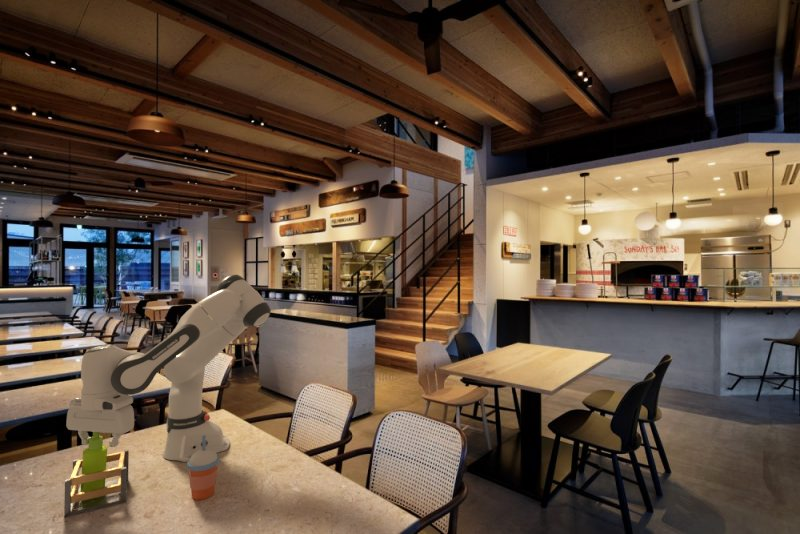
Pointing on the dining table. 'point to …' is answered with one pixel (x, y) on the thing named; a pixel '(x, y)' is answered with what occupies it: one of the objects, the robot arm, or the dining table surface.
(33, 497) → the dining table surface
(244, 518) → the dining table surface
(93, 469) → the soap dispenser
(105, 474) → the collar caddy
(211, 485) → the cup with straw
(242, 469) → the dining table surface
